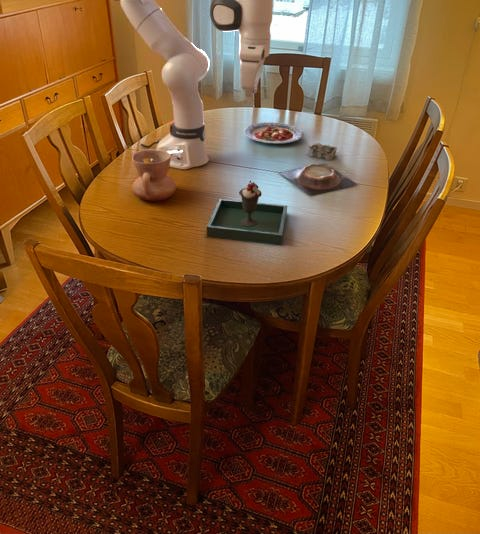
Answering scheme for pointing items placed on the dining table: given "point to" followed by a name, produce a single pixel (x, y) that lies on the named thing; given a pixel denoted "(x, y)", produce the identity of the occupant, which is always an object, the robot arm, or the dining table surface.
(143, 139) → the dining table surface
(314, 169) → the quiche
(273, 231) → the serving tray
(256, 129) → the ceramic plate
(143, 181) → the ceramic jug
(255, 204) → the sundae
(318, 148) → the egg carton
